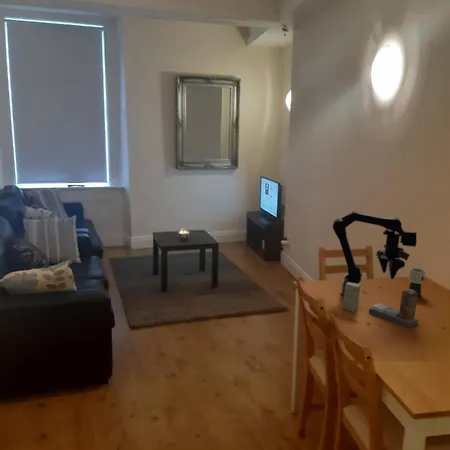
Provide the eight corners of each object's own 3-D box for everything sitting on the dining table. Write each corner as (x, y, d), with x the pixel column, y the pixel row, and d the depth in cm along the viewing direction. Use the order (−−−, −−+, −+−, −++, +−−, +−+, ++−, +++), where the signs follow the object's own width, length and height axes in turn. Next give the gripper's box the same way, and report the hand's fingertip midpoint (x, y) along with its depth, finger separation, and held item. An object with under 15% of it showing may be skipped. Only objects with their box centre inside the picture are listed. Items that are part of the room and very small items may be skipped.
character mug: (421, 299, 240) (425, 274, 237) (406, 296, 243) (409, 271, 240) (421, 292, 250) (425, 268, 247) (407, 289, 253) (410, 265, 250)
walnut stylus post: (398, 317, 210) (402, 289, 207) (405, 315, 213) (409, 288, 210) (407, 321, 207) (411, 292, 204) (414, 319, 209) (418, 291, 206)
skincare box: (341, 309, 222) (344, 284, 219) (344, 306, 226) (347, 281, 223) (355, 312, 219) (358, 286, 217) (357, 309, 223) (360, 284, 220)
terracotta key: (396, 322, 210) (397, 317, 210) (403, 319, 214) (403, 314, 213) (408, 326, 206) (409, 322, 206) (415, 323, 210) (415, 319, 209)
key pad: (368, 312, 219) (369, 305, 219) (377, 309, 224) (378, 302, 223) (409, 328, 205) (410, 320, 204) (417, 324, 210) (418, 316, 209)
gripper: (417, 250, 220) (413, 282, 223) (399, 239, 238) (395, 269, 242) (394, 249, 219) (390, 282, 222) (377, 239, 237) (374, 269, 240)
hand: (388, 275), depth 232 cm, fingers open, 9 cm apart
